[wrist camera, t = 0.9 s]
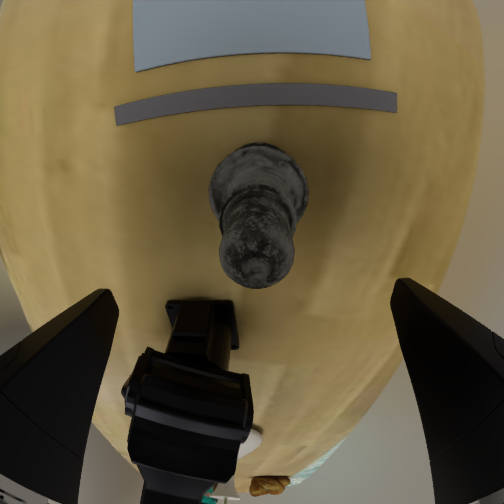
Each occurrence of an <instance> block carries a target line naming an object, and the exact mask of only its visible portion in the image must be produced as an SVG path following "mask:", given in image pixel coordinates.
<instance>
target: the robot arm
mask: <svg viewBox="0 0 504 504" xmlns="http://www.w3.org/2000/svg"><path fill="white" fill-rule="evenodd" d="M169 305H170V306H169ZM171 306H172V307H171ZM227 306H230V307H227ZM390 306H391V310H392V314H393V318H394V322H395V326H396V331H397V335H398V339H399V343H400V347H401V351H402V354H403V357H404V360H405V363H406V366H407V370H408V373H409V376H410V379H411V383H412V386H413V390H414V393H415V397H416V401H417V405H418V408H419V412H420V416H421V421H422V425H423V429H424V434H425V439H426V444H427V449H428V454H429V460H430V466H431V473H432V480H433V488H434V496H435V504H469V503H472V502H474V501H477V500H478V503H476V504H504V339H503V338H501V337H500V336H498V335H497V334H496V333H494V332H491V330H490V329H488V328H487V327H485V326H484V325H482V324H481V323H480V322H478V321H477V320H475V319H474V318H472V317H471V316H469V315H468V314H466V313H465V312H463V311H462V310H460V309H459V308H457V307H456V306H454V305H452V304H451V303H449V302H448V301H446V300H445V299H443V298H441V297H440V296H438V295H437V294H435V293H433V292H432V291H430V290H429V289H427V288H425V287H424V286H422V285H420V284H419V283H417V282H416V281H414V280H412V279H411V278H399V279H397V280H396V282H395V285H394V289H393V292H392V296H391V300H390ZM165 308H166V311H167V314H168V317H169V320H170V322H171V325H172V328H173V329H172V332H171V335H170V338H169V341H168V344H167V348H166V351H165V353H162V352H159V351H156V350H154V349H153V348H150V347H147V349H146V351H145V353H142V355H141V356H139V357H138V360H137V363H136V365H135V368H134V370H133V372H132V374H131V375H130V377H129V378H128V379H127V381H126V382H125V384H124V385H123V387H122V390H121V393H122V395H123V397H124V399H125V415H128V416H130V417H132V419H131V424H130V429H129V434H128V439H127V442H128V452H129V455H130V458H131V461H132V463H134V464H137V467H138V469H139V471H140V473H141V475H142V477H143V479H144V485H143V490H142V496H141V501H140V504H201V502H202V498H203V494H204V493H205V492H207V491H208V490H209V489H210V488H212V487H213V486H214V485H215V484H216V483H222V484H226V483H227V482H228V481H229V480H230V479H231V477H232V476H233V475H234V474H235V471H236V464H237V458H238V452H239V448H240V445H241V444H243V443H245V441H246V440H247V438H248V436H249V434H250V431H251V428H252V423H253V413H254V410H253V401H252V394H251V386H250V379H249V375H248V374H243V373H242V374H239V373H234V372H230V371H228V368H229V359H230V350H237V349H238V348H239V338H238V331H237V323H236V316H235V309H234V304H233V302H231V301H167V303H166V305H165ZM118 317H119V308H118V306H117V303H116V301H115V299H114V296H113V294H112V292H111V291H110V290H109V289H97V290H96V291H94V292H93V293H91V294H89V295H88V296H86V297H85V298H83V299H82V300H80V301H79V302H77V303H76V304H74V305H72V306H71V307H69V308H68V309H66V310H65V311H63V312H62V313H60V314H59V315H57V316H56V317H54V318H53V319H52V320H50V321H49V322H47V323H46V324H44V325H43V326H41V327H40V328H38V329H37V330H36V331H34V332H33V333H31V334H30V335H29V336H27V337H26V338H24V339H23V340H22V341H20V342H19V343H17V344H16V345H14V346H13V347H12V348H10V349H9V350H7V351H6V352H5V353H3V354H2V355H0V504H49V503H48V499H51V500H53V501H56V502H59V503H61V504H78V495H79V486H80V479H81V472H82V466H83V458H84V453H85V448H86V443H87V438H88V434H89V429H90V424H91V420H92V416H93V412H94V408H95V404H96V400H97V396H98V393H99V389H100V385H101V382H102V378H103V375H104V371H105V368H106V365H107V362H108V358H109V355H110V351H111V347H112V342H113V338H114V333H115V329H116V325H117V321H118Z"/></svg>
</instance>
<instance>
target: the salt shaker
mask: <svg viewBox="0 0 504 504" xmlns="http://www.w3.org/2000/svg"><path fill="white" fill-rule="evenodd" d="M308 194H309V190H308V185H307V179H306V177H305V175H304V173H303V171H302V169H301V167H300V166H299V165H298V164H297V163H296V162H295V161H294V160H293V158H292V157H290V156H288V155H287V154H286V153H285V152H284V151H282V150H281V149H279V148H278V147H276V146H274V145H270V144H267V143H251V144H247V145H244V146H242V147H240V148H238V149H237V150H235V151H234V152H233V153H231V154H230V155H228V156H227V157H226V158H225V159H224V160H223V161H222V162H221V163H220V164H219V165H218V166H217V168H216V170H215V171H214V173H213V175H212V177H211V181H210V185H209V201H210V204H211V208H212V211H213V213H214V214H215V216H216V217H217V219H218V221H219V227H220V230H221V233H222V240H221V244H220V248H219V255H220V262H221V265H222V268H223V270H224V271H225V273H226V274H227V276H228V277H229V278H230V279H232V280H233V281H234V282H236V283H238V284H240V285H242V286H244V287H247V288H251V289H261V288H267V287H269V286H272V285H274V284H276V283H278V282H279V281H281V280H282V279H283V278H284V277H285V276H286V275H287V274H288V273H289V271H290V269H291V267H292V264H293V261H294V253H295V250H294V244H293V239H292V237H293V235H294V232H295V230H296V224H297V222H298V221H299V220H300V218H301V217H302V216H303V214H304V211H305V209H306V206H307V203H308Z"/></svg>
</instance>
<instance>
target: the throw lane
mask: <svg viewBox="0 0 504 504" xmlns="http://www.w3.org/2000/svg"><path fill="white" fill-rule="evenodd" d="M133 43H134V64H135V72H140V71H144V70H147V69H152V68H156V67H160V66H165V65H170V64H175V63H180V62H185V61H191V60H198V59H204V58H212V57H220V56H230V55H242V54H260V53H304V54H322V55H334V56H344V57H352V58H359V59H366V60H370V59H371V52H370V40H369V30H368V21H367V13H366V6H365V0H133ZM256 105H325V106H341V107H354V108H364V109H373V110H381V111H388V112H395V113H397V93H394V92H388V91H381V90H375V89H368V88H360V87H350V86H340V85H326V84H304V83H270V84H247V85H233V86H222V87H213V88H205V89H197V90H190V91H184V92H178V93H172V94H167V95H162V96H157V97H152V98H147V99H143V100H139V101H135V102H131V103H127V104H123V105H119V106H116V107H114V110H115V118H116V126H118V125H122V124H126V123H131V122H135V121H140V120H145V119H149V118H155V117H160V116H165V115H171V114H178V113H184V112H191V111H199V110H207V109H216V108H227V107H239V106H256Z"/></svg>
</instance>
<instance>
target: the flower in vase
mask: <svg viewBox="0 0 504 504" xmlns="http://www.w3.org/2000/svg"><path fill="white" fill-rule="evenodd" d="M262 441H263V437H262V436H261V434H260V433H259V432H258V431H256V430H254V429H251V431H250V434H249V436H248V438H247V440H246V441H245V443H243V444H241V445H240V448H239V452H238V458H237V461H238V460H239V459H240V458H242V457H243V456H245V455H247V454H248V453H250V452H252V451H253V450H255V449H256V448H257V447H258V446H259V445H260V444H261V443H262ZM209 497H212V498H217V499H225V502H224V504H226V503H227V500H241V498H240V497H239V495H238V494H237V492H236V489H235V484H234V475H233V476H232V477H231V479H230V480H229V481H228V482H227V483H226V484H222V483H218V485H217V488H216V489H215V491H214V492H213V493H212V494H211V495H210V496H209Z"/></svg>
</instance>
